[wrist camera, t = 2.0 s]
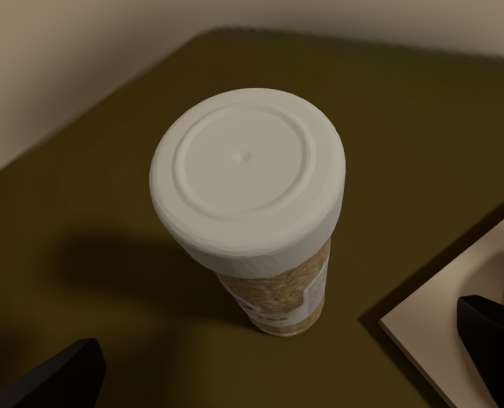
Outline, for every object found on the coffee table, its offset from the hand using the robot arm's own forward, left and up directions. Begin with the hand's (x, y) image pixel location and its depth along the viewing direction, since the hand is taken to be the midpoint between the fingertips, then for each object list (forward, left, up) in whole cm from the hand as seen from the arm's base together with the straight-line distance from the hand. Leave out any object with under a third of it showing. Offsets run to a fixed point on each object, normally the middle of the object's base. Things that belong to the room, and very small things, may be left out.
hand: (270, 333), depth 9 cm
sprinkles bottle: (+2, +3, -11) cm, 11 cm away
